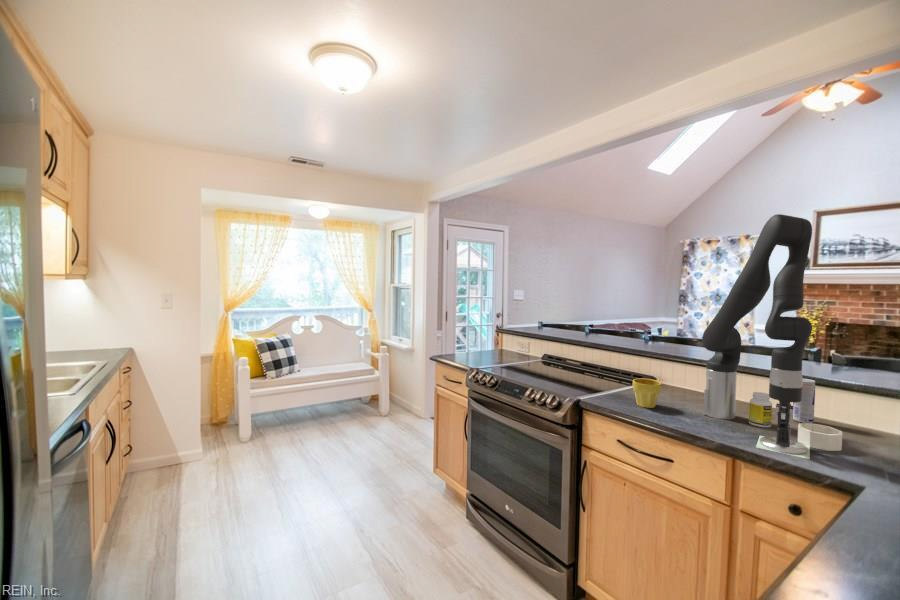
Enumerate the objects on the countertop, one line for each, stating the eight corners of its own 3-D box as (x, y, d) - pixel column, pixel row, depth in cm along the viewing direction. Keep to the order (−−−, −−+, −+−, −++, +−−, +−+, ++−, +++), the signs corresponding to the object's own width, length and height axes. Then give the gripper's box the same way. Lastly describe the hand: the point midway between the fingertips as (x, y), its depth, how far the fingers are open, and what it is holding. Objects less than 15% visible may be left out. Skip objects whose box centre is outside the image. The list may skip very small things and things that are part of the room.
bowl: (797, 445, 122) (797, 429, 122) (798, 436, 129) (798, 420, 129) (842, 454, 116) (842, 437, 115) (840, 444, 123) (841, 428, 123)
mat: (755, 448, 120) (755, 447, 120) (759, 436, 129) (759, 435, 129) (809, 460, 112) (809, 459, 112) (809, 447, 121) (810, 445, 121)
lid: (757, 447, 120) (758, 427, 120) (761, 436, 128) (762, 418, 128) (807, 457, 113) (808, 437, 112) (807, 445, 121) (808, 427, 121)
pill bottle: (765, 429, 135) (766, 397, 135) (745, 423, 141) (746, 392, 140) (775, 426, 138) (776, 394, 137) (754, 420, 143) (755, 390, 143)
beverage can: (817, 424, 140) (819, 381, 139) (799, 423, 141) (800, 381, 140) (806, 419, 145) (808, 378, 144) (789, 418, 146) (790, 377, 146)
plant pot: (664, 410, 155) (665, 385, 155) (636, 408, 157) (636, 384, 156) (655, 402, 165) (656, 378, 165) (629, 401, 167) (629, 377, 167)
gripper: (771, 377, 127) (769, 430, 128) (767, 386, 117) (765, 444, 118) (802, 381, 122) (800, 437, 123) (801, 390, 112) (799, 451, 113)
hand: (783, 440), depth 120 cm, fingers closed on lid, 3 cm apart
